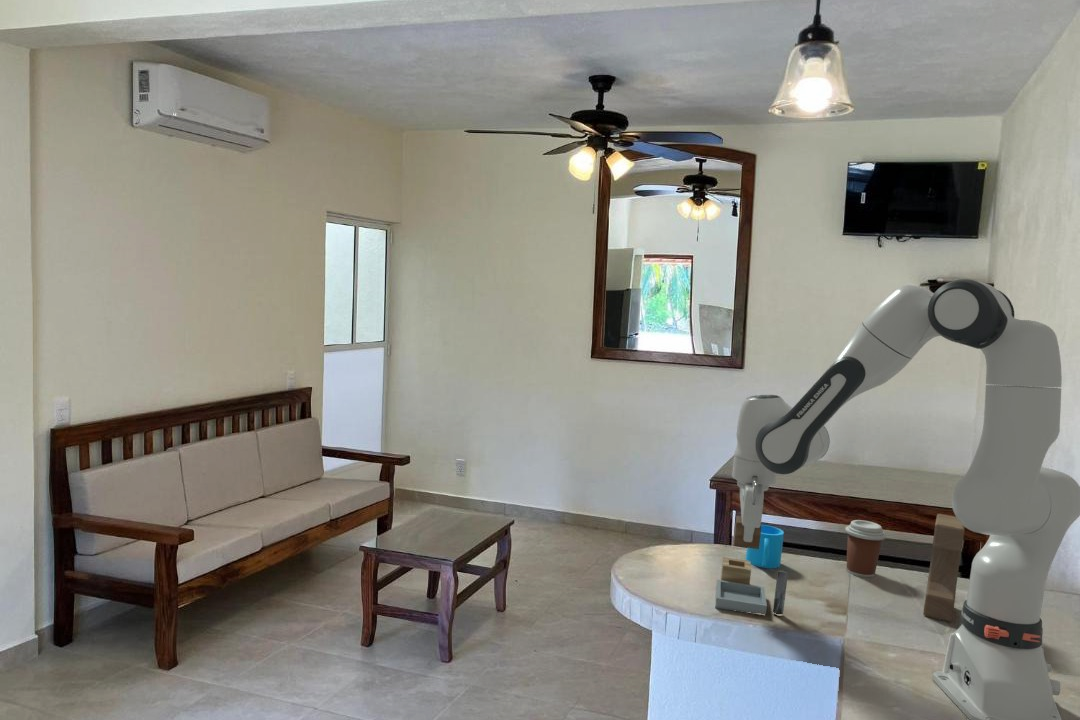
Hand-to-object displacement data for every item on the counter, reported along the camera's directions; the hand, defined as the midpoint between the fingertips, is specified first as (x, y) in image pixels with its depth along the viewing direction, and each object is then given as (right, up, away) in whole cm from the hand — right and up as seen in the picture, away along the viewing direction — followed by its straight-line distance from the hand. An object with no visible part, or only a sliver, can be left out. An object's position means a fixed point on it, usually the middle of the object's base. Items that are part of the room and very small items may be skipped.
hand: (747, 536), depth 172 cm
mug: (+11, -13, +27) cm, 32 cm away
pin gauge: (+5, -15, -4) cm, 17 cm away
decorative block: (+43, -18, +6) cm, 46 cm away
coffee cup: (+34, -15, +27) cm, 46 cm away
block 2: (0, -13, +11) cm, 17 cm away
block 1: (0, -2, 0) cm, 2 cm away
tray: (-1, -14, +1) cm, 14 cm away
